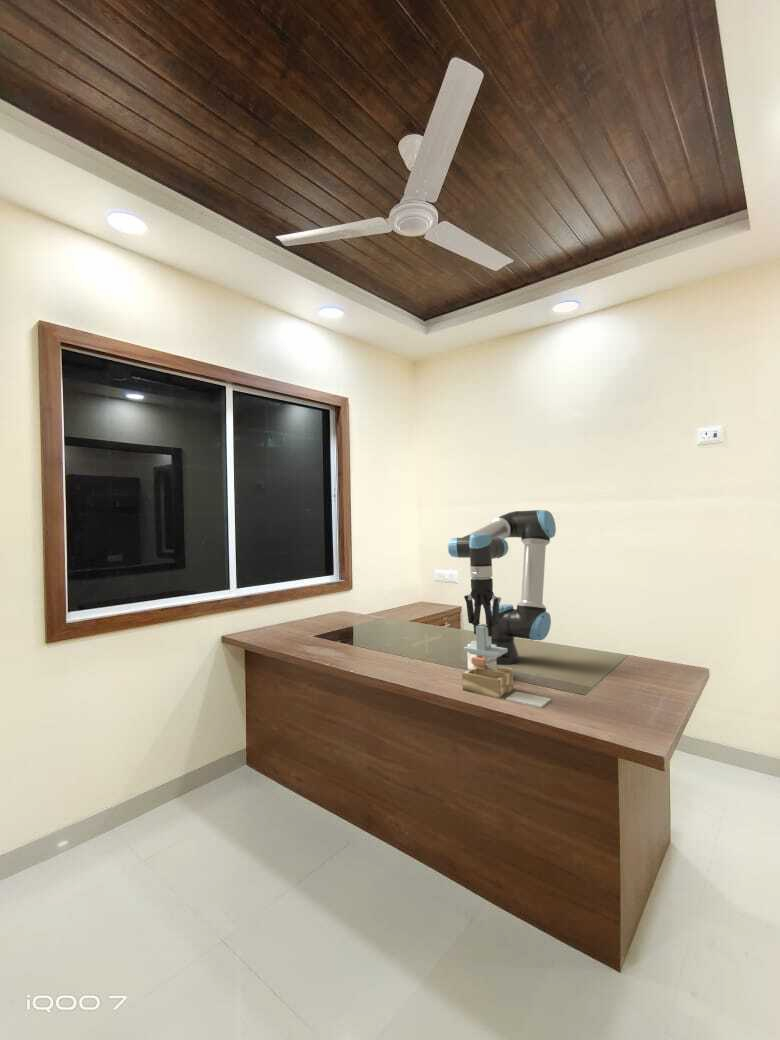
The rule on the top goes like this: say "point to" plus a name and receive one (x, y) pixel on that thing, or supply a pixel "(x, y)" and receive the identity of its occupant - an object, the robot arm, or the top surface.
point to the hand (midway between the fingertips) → (483, 644)
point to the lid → (484, 645)
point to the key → (478, 661)
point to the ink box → (489, 660)
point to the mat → (528, 699)
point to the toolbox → (488, 680)
